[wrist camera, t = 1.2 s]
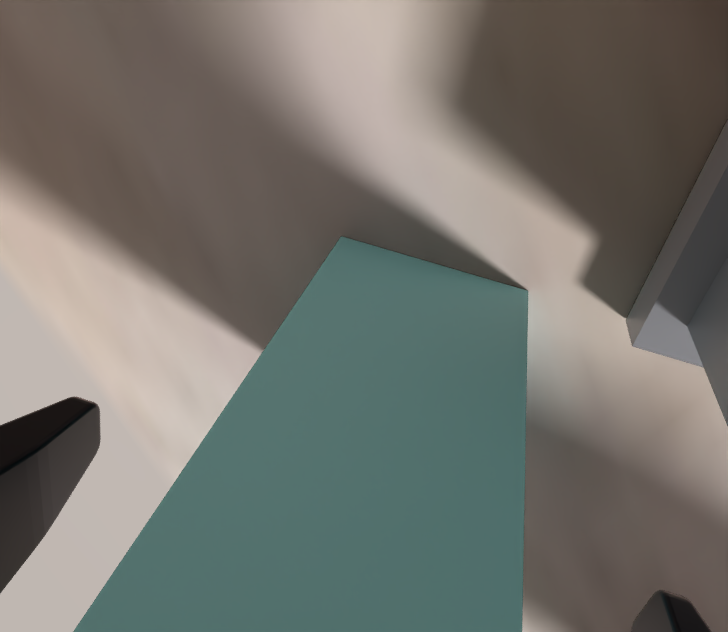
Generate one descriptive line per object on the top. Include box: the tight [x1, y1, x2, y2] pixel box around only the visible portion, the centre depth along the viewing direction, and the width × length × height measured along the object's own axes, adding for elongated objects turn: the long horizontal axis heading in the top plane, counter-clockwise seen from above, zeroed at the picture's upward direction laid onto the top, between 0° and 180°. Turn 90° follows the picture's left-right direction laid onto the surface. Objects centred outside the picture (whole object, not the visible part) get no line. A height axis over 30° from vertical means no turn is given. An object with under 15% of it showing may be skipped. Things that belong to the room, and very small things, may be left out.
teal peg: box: [74, 236, 528, 632], centre depth 10 cm, size 4×4×10 cm
